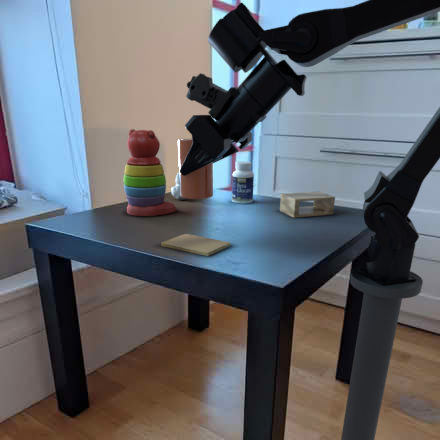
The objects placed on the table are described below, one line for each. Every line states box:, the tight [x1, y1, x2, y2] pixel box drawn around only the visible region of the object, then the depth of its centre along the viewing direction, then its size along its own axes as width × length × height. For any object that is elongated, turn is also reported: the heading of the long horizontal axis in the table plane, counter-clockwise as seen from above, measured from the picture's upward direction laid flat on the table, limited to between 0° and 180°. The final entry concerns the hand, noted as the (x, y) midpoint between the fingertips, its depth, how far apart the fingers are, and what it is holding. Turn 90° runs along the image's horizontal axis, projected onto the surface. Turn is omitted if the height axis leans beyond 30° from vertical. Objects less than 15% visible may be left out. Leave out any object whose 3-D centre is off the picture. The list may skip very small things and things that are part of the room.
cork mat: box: [160, 233, 232, 257], centre depth 73 cm, size 10×7×1 cm
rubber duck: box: [170, 171, 188, 201], centre depth 109 cm, size 5×7×8 cm
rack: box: [279, 190, 336, 219], centre depth 95 cm, size 7×10×4 cm
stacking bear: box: [123, 128, 177, 217], centre depth 93 cm, size 11×10×18 cm
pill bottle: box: [231, 160, 255, 205], centre depth 105 cm, size 5×5×10 cm
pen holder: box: [177, 137, 214, 200], centre depth 69 cm, size 6×6×9 cm
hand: (188, 171), depth 69 cm, fingers closed on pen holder, 5 cm apart
